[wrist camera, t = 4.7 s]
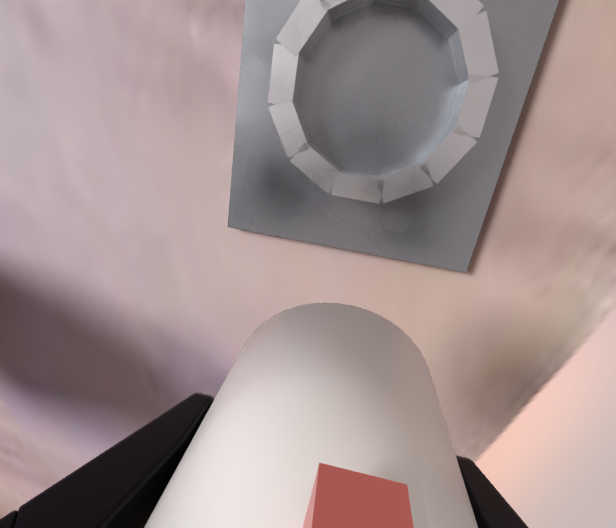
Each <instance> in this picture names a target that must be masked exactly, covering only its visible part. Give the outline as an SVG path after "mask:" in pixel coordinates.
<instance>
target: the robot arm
mask: <svg viewBox="0 0 616 528" xmlns="http://www.w3.org/2000/svg"><path fill="white" fill-rule="evenodd" d="M213 401H214V397H213V396H211V395H206V394H202V393H194V394H192V395H191V396H189V397H188V398H186V399H185V400H183V401H182V402H180V403H179V404H177V405H176V406H174V407H172V408H171V409H169V410H168V411H166V412H165V413H163V414H162V415H160V416H159V417H157V418H156V419H154V420H152V421H151V422H149V423H148V424H146V425H145V426H143V427H142V428H140V429H139V430H137V431H136V432H134V433H132V434H131V435H129V436H128V437H126V438H125V439H123V440H122V441H120V442H119V443H117V444H116V445H114V446H113V447H111V448H109V449H108V450H106V451H105V452H103V453H102V454H100V455H99V456H97V457H96V458H94V459H93V460H91V461H89V462H88V463H86V464H85V465H83V466H82V467H80V468H79V469H77V470H76V471H74V472H73V473H71V474H70V475H68V476H66V477H65V478H63V479H62V480H60V481H59V482H57V483H56V484H54V485H53V486H51V487H50V488H48V489H46V490H45V491H43V492H42V493H40V494H39V495H37V496H36V497H34V498H33V499H31V500H30V501H28V502H26V503H25V504H23V505H22V506H21V507H20V508H19V510H18V511H16V510H15V511H12V512H11V513H9V514H8V515H6V516H5V517H3V518H2V519H0V528H144V527H145V525H146V523H147V521H148V519H149V517H150V516H151V514H152V512H153V510H154V508H155V507H156V505H157V503H158V501H159V499H160V497H161V496H162V494H163V492H164V490H165V488H166V487H167V485H168V483H169V481H170V479H171V477H172V476H173V474H174V472H175V470H176V468H177V467H178V465H179V463H180V461H181V459H182V457H183V456H184V454H185V452H186V450H187V448H188V447H189V445H190V443H191V441H192V439H193V437H194V436H195V434H196V432H197V430H198V428H199V427H200V425H201V423H202V421H203V419H204V417H205V416H206V414H207V412H208V410H209V408H210V407H211V405H212V403H213ZM456 458H457V461H458V464H459V468H460V471H461V474H462V477H463V481H464V484H465V487H466V490H467V493H468V497H469V500H470V503H471V506H472V510H473V513H474V516H475V519H476V522H477V526H478V528H528V527H527V525H526V524H525V523H524V522H523V521H522V520H521V518H520V517H519V516H518V515H517V513H516V512H515V511H514V510H513V509H512V507H511V506H510V505H509V504H508V503H507V502H506V500H505V499H504V498H503V497H502V496H501V494H500V493H499V492H498V491H497V490H496V488H495V487H494V486H493V485H492V484H491V483H490V481H489V480H488V479H487V478H486V477H485V475H484V474H483V473H482V472H481V471H480V469H479V468H478V467H477V466H476V465H475V463H474V462H473V461H472V460H470V459H468V458H465V457H461V456H457V455H456Z"/></svg>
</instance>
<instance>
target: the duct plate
mask: <svg viewBox="0 0 616 528" xmlns="http://www.w3.org/2000/svg"><path fill="white" fill-rule="evenodd" d="M558 2H559V0H246V2H245V14H244V27H243V39H242V52H241V65H240V77H239V90H238V102H237V115H236V127H235V140H234V153H233V165H232V178H231V190H230V203H229V216H228V227H230V228H235V229H241V230H246V231H251V232H256V233H262V234H267V235H272V236H277V237H283V238H288V239H293V240H298V241H304V242H309V243H314V244H319V245H324V246H330V247H335V248H340V249H345V250H351V251H356V252H361V253H366V254H372V255H377V256H382V257H387V258H393V259H398V260H403V261H408V262H414V263H419V264H424V265H429V266H435V267H440V268H445V269H450V270H456V271H461V272H466V271H467V268H468V265H469V262H470V260H471V257H472V254H473V251H474V248H475V245H476V242H477V239H478V236H479V233H480V230H481V227H482V224H483V222H484V219H485V216H486V213H487V210H488V207H489V204H490V201H491V198H492V195H493V192H494V189H495V186H496V184H497V181H498V178H499V175H500V172H501V169H502V166H503V163H504V160H505V157H506V154H507V151H508V149H509V146H510V143H511V140H512V137H513V134H514V131H515V128H516V125H517V122H518V119H519V116H520V113H521V111H522V108H523V105H524V102H525V99H526V96H527V93H528V90H529V87H530V84H531V81H532V78H533V75H534V73H535V70H536V67H537V64H538V61H539V58H540V55H541V52H542V49H543V46H544V43H545V40H546V37H547V35H548V32H549V29H550V26H551V23H552V20H553V17H554V14H555V11H556V8H557V5H558Z"/></svg>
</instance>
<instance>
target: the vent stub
mask: <svg viewBox="0 0 616 528" xmlns="http://www.w3.org/2000/svg"><path fill="white" fill-rule="evenodd" d="M144 528H478V526H477V522H476V519H475V516H474V513H473V510H472V506H471V503H470V500H469V497H468V493H467V490H466V487H465V484H464V481H463V477H462V474H461V471H460V468H459V464H458V461H457V458H456V455H455V452H454V448H453V445H452V442H451V439H450V435H449V432H448V429H447V426H446V423H445V419H444V416H443V413H442V410H441V406H440V403H439V400H438V397H437V394H436V390H435V387H434V384H433V381H432V377H431V374H430V371H429V368H428V366H427V363H426V361H425V359H424V357H423V355H422V353H421V352H420V350H419V348H418V347H417V346H416V345H415V343H414V342H413V341H412V339H411V338H410V337H409V336H407V335H406V334H405V333H404V332H403V331H402V330H401V329H400V328H399V327H397V326H396V325H394V324H393V323H392V322H390V321H389V320H387V319H385V318H383V317H382V316H380V315H378V314H375V313H373V312H371V311H368V310H366V309H362V308H359V307H355V306H352V305H345V304H339V303H314V304H306V305H302V306H297V307H294V308H291V309H288V310H285V311H283V312H281V313H279V314H277V315H275V316H273V317H271V318H270V319H268V320H267V321H265V322H264V323H263V324H262V325H260V326H259V327H258V328H257V329H256V330H255V331H254V332H253V333H252V335H251V336H250V337H249V338H248V340H247V341H246V343H245V345H244V347H243V348H242V350H241V352H240V354H239V356H238V357H237V359H236V361H235V363H234V365H233V367H232V368H231V370H230V372H229V374H228V376H227V377H226V379H225V381H224V383H223V385H222V387H221V388H220V390H219V392H218V394H217V396H216V397H215V399H214V401H213V403H212V405H211V407H210V408H209V410H208V412H207V414H206V416H205V417H204V419H203V421H202V423H201V425H200V427H199V428H198V430H197V432H196V434H195V436H194V437H193V439H192V441H191V443H190V445H189V447H188V448H187V450H186V452H185V454H184V456H183V457H182V459H181V461H180V463H179V465H178V467H177V468H176V470H175V472H174V474H173V476H172V477H171V479H170V481H169V483H168V485H167V487H166V488H165V490H164V492H163V494H162V496H161V497H160V499H159V501H158V503H157V505H156V507H155V508H154V510H153V512H152V514H151V516H150V517H149V519H148V521H147V523H146V525H145V527H144Z"/></svg>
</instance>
